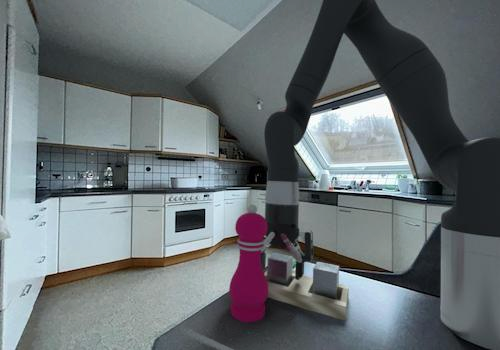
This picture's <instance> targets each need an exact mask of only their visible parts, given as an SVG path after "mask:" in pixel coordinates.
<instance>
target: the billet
mask: <svg viewBox="0 0 500 350" xmlns="http://www.w3.org/2000/svg"><path fill="white" fill-rule="evenodd" d="M312 268H313V269H312V272H313V273H312V278H313V294H316V295H320V296H323V297H327V298H331V299H335V300H338V289H339V284H340V282H339V281H340V280H339V279H340V276H339V275H340V265H336V264H331V263H325V262H322V261H317V262H316V263H315V264H314V267H312Z"/></svg>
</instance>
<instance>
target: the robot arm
mask: <svg viewBox="0 0 500 350" xmlns="http://www.w3.org/2000/svg"><path fill="white" fill-rule="evenodd" d="M376 1H377V0H322V3H321V6H320V9H319V11H318V15H317V17H316V20H315V23H314V26H313V29H312V32H311V34H310V36H309V39H308V41H307V43H306V46H305V48H304V51H303V54H302V56H301V59H300V60H299V62H298V64H297V67H296V68H295V70H294V72H293V75H292V78H291V79H290V81H289V84H288V87H287V89H286V91H285V94H284V97H285V102H286V103H285V104H286V107H285V110H279V111H278V110H277V111H275V112H274V113H272V114H271V115H270V116H269V117H268V119H267V120H266V122H265V126H264V132H263V133H264V144H265V151H266V152H265V153H266V157H267V163H268V166H267V184H266V189H265V196H264V200H265V203H264V204H265V208H264V218H265V220H266V222H267V226H268V229H267V233H266V235H265V236H264V237H265V239H263V240H264V248H263V249H262V251H261V265H262V269H263V271H265V270H266V261H267V259H266V258H267V257H266V256H267V253H266V251H267V249H268V248H269V247H270V246H272V247H274V248H276V247H277V248H278V247H279V248H281V249H284V250H286V249H288V250H289V251H290V253H291V254H292V255H293V256H294V257H293V258H294V259H296V272H295V279H296V280H299V279H300V278H302V276H304V274H305V262H311V261H312V260H313V258H314V233H313V231H312V230H311V229H309V230H307V231H306V230H300V228H299V211H300V205H299V204H300V201H299V200H300V190H299V189H300V187H299V176H300V175H299V172H300V170H299V169H300V168H299V167H300V166H299V164H300V163H299V160H298V158H297V157H296V153H295V152H296V151H295V146H297V145H299V143H300V142H301V141H302V139H303V137H304V135H305V134H306V131H307V128H308V126H309V122H310V119H311V115H312V113H313V111H312V110H313V108H314V105H315V103H316V101H317V100H318V98H319V96H320V93H321V92H322V89H323V88H324V86H325V83H326V81H327V78H328V77H329V73H330V71H331V70H332V65H333V63H334V61H335V57H336V54H337V52H338V48H339V45H340V43H341V42H342V41H341V40H342V38H343V35H345V37H347V38H348V39H349V40H350V42H351V43H352V44H353V46H354V47H355V49H356V50H357V51H358V54H360V57H361V58H362V60H363V62H364V64H365V65H366V66H367V68H368V70H369V71H370V72H371V74H372V76H373V77H374V79H375V82H376V83H377V84H378V86H379V87H380V90H382V93H384V94H385V97H386V98H387V99H388V101H389V102H390V104H392V106H393V107H394V109H395V110H396V112H397V114H398V115H399V116H400V118H401V120H402V121H403V123H404V124H405V126H406V127H407V129H408V130H409V131H410V133H411V134H412V136H413V138H414V140H415V141H416V143H417V145H418V147H419V148H420V151H421V153H422V156H423V157H424V159H425V161H426V163H427V166H428V167H429V169H430V172H431V173H432V175H433V177H434V178H435V180H437V182H438V183H439V184H441V185H442V186H443V187H445V188H446V189H448V190H450V191H451V190H452V191H455V200H454V203H453V205H452V206H451V207H450V208H449V209H447V210H445V211H444V212H442V213H441V217H440V309H439V310H440V320H441V322H442V324H444V325H445V326H446V327H447V328H448V329H449V330H450V331H451V332H452V333H453V334H454V335H456V336H457V337H458V338H459V337H460V338H461V339H462V340H465V341H467V342H470V343H472V344H474V345H477V346H480V347H482V348H484V349H488V350H500V137H499V136H488V137H481V138H477V139H472V140H468V138H467V137H466V136H465V135H464V133H463V132H462V130H461V129H460V128H459V126H458V125H457V123H456V122H455V120H454V118H453V116H452V113H451V110H450V102H449V101H450V100H449V91H448V81H447V77H446V72H445V71H444V69H443V67H442V65H441V64H440V62H439V60H438V59H437V58H436V56H435V55H434V53H433V52H432V51H431V49H430V48H429V47H428V45H426V44H425V43H424V41H423V40H421V39H420V38H419V37H417V36H416V35H414V34H412V33H410V32H407V31H405V30H403V29H400V28H398V27H396V26H395V25H393V24H392V23H391V22H390V21H388V19H387V18H386V17H385V15H384V13H383V11H381V9H380V8H379V5H378V4H377V2H376ZM299 237H300V238H301V241H302V242H304V253H303V251H302V249H301V247H300V245H299V243H298V241H297V240H298V238H299Z"/></svg>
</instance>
